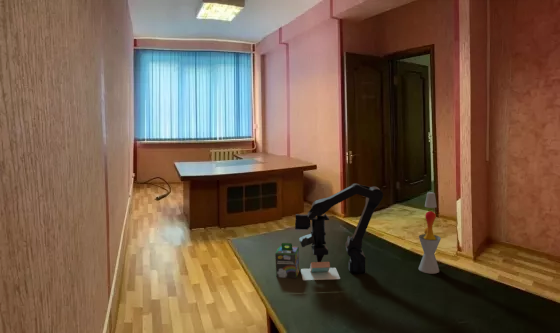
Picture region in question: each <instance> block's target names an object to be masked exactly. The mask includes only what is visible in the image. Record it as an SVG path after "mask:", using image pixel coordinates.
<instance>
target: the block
mask: <svg viewBox="0 0 560 333" xmlns="http://www.w3.org/2000/svg"><path fill="white" fill-rule="evenodd" d="M330 268H331V263H330V261H321V262H317V261H315V262H314V261H311V262H310V266H309V269H310V272H328V271H329V269H330Z"/></svg>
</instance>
